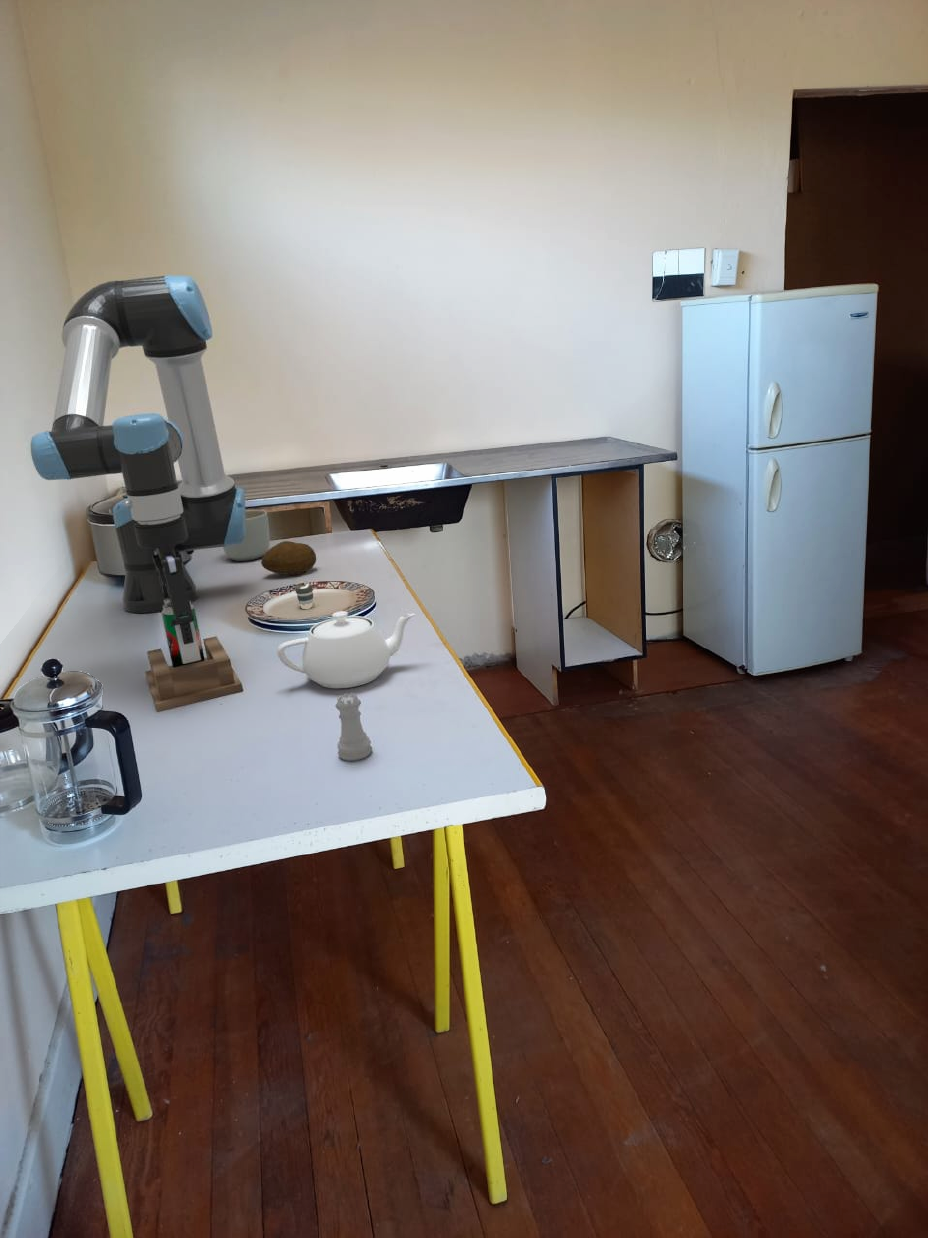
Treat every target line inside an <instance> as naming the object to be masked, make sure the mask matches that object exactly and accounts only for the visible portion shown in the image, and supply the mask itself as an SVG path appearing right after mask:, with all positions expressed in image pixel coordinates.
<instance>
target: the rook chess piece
mask: <svg viewBox="0 0 928 1238" xmlns="http://www.w3.org/2000/svg"><path fill="white" fill-rule="evenodd" d="M349 695H350V696H349ZM343 696H344V697H343ZM337 697H338V698H336V699H337V702H336V704H335V708H336V709H337V710H338V711H339V715H338V718H339V719H340V722H341V724H340V726H341V731H340V732H341V733H340V736H339V741H338V742H337V746H336V747H337V749H338V751H337V754H338V757H340V759H342V760H344V761H349V762H356V761H361V760H363V759H365V758H367V757H368V756H370V754H371V752H372V750H373V747H372V745H371V744H372V742H371V740H370V737H369V736H367V733H366V732H365V731H364V728H363V724H362V722H361V715H362V713H361V712H360V709H359V708H360V706H361V705H362V702H361V700H360V699H359V698H358V695H357V694H355V693H353V692H351V693H350V694H349V693H343V695H339V696H337Z"/></svg>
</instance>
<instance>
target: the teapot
mask: <svg viewBox="0 0 928 1238" xmlns="http://www.w3.org/2000/svg"><path fill="white" fill-rule="evenodd" d="M415 615H416V613H408V614H405V615H402V616H400V617H399V618H398V620H397V622H396V624H395V628H394V632H393V633H392V635H391V636H390V637H388V638H387V639H385V637H384V635H383V634H382V632H381V630H380V628H379V627H378V626H377V625H376V624H377V623H375V621H374V620H373V619H371V618H369V617H365V616H359V615H349V614H348V612H347V611H345V610H343V611H341V610H340V611H336V612H335V611H334V612H333V613H332V615H331V617H332V618H329V619H326V620H322V621H320V622H317V623H316V624H314V625H313V626H312V627H311V628H310V629H309V631H308V633H307V636H306V637H302V638H296V639H293V640H292V639H291V640H288V641H286V642H282V643H281V644H279V645H278V647H277V656H278V658H279V660H280V662H281V663H282V664H284V665H285V666H286V667H287V668H289V669H292V670H293V671H295V672H299V673H302V674H306V676H307V678H309V679H310V680H312V681H313V682H314V683H316V684H318V685H320V686H322V687H324V688H329V689H348V688H349V689H350V688H353V687H358V686H363V685H365V684H368V683H371V682H373V681H374V680H376V679H377V678H378V677H380V675H381V673H383V671H385V669H386V668H387V667H388V665H389V663H390V659H391V657H392V656H394V655H395V654H396V653H397V652H398V651H399V650H400V647H401V645H402V643H403V639H404V638H403V637H404V631H405V628H406V625H407V623H408V621H409V620H410V619H412V617H414V616H415ZM299 645H304V646H303V651H302V658H301V659H302V660H301V662H302V666H301V665H298V664H296V663H294V662H292V661H291V660H290V659H289V658H288V656H287V655H286V653H285V650H286V649H289V648H291V647H295V646H299Z"/></svg>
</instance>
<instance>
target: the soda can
mask: <svg viewBox="0 0 928 1238" xmlns="http://www.w3.org/2000/svg"><path fill="white" fill-rule="evenodd" d="M189 602H190V606H191V610H192V614H193V615H194V621H193V623H194V628H195V633H196V637H197V642H198V647H199V652H200V657H201V660H198V661H194V662H190V663H185V664H183V662H182V657H181V652H180V648H179V643H178V638H177V634H176V629H175V626H171V623H170V621H173V620H175V618H174V614H173V611H172V607H171V603H170V602H168V603H166V604H164V605H163V611H161V616H162V622H163V626H164V627H163V628H164V632H165V637H166V643H167V646H168V651H169V654H170V655H169V656H170V660H171V664H172V665H171V666H173V668H175V667H180V666H184V665H188V664H193V663H197V662H202V661H205V658H206V657H205V654H204V648H203V644H202V640H201V634H200V629H199V623H198V619H197V613H196V607H195V606H194V605H193V604H192V602H191V601H190V600H189ZM186 614H187V613H185V614H180V615H179V616H181V615H186Z"/></svg>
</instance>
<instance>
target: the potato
mask: <svg viewBox="0 0 928 1238" xmlns="http://www.w3.org/2000/svg"><path fill="white" fill-rule="evenodd" d="M316 563H317V555H316V552H315V550H314V549H313V548H312V547H311V546H310V545H309V544H306V543H301V542H294V541H291V540H290V541H288V540H286V541H285V540H283V541H281V542H279V543H276V544H275V545H273V546H272V547H271V548H269V549H268V551H267V553H266V554H265V555H264V556H262V557H261V562H260V564H261V566H262V567H263V568H264V569H265V570H267V571H269V572H271V573H274V574H281V575H293V576H294V575H301V574H304V573H306V572H308V571H310V570H311V569H312V568H313V567H314V566H315V564H316Z"/></svg>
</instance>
